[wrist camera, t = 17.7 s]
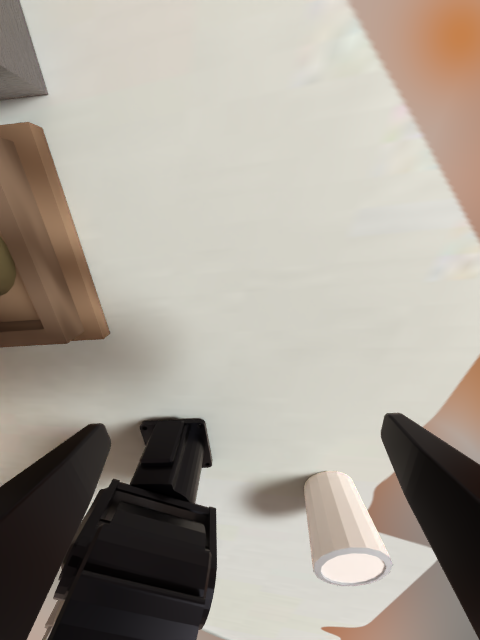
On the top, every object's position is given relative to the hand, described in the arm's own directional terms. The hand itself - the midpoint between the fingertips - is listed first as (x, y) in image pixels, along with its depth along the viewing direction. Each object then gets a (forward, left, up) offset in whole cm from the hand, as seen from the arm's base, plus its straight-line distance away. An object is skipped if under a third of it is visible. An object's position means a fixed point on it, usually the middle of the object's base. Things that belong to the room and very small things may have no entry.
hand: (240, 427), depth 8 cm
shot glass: (-23, -8, -12) cm, 27 cm away
